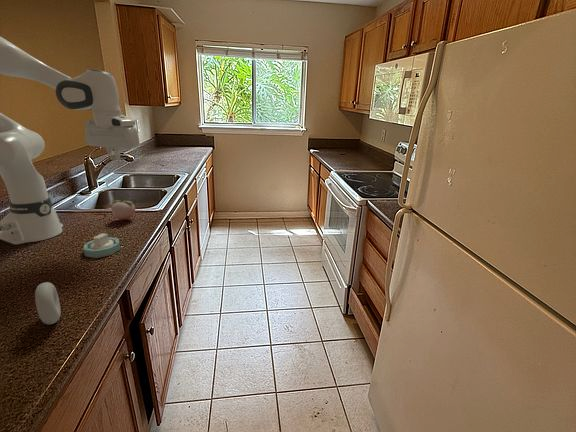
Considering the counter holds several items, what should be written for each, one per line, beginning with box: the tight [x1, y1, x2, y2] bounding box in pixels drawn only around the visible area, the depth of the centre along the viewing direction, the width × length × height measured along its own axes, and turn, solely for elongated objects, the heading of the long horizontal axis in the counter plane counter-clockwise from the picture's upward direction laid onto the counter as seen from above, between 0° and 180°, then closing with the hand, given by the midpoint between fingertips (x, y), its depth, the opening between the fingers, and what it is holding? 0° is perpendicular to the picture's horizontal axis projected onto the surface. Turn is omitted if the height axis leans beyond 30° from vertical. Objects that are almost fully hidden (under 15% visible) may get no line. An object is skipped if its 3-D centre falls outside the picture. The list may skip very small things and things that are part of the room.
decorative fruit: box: [111, 198, 136, 221], centre depth 135 cm, size 9×8×10 cm
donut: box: [34, 281, 62, 326], centre depth 74 cm, size 10×3×10 cm, turn 32°
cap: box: [90, 232, 114, 250], centre depth 110 cm, size 7×7×4 cm
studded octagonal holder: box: [83, 236, 121, 259], centre depth 110 cm, size 11×11×2 cm
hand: (115, 159), depth 115 cm, fingers closed
